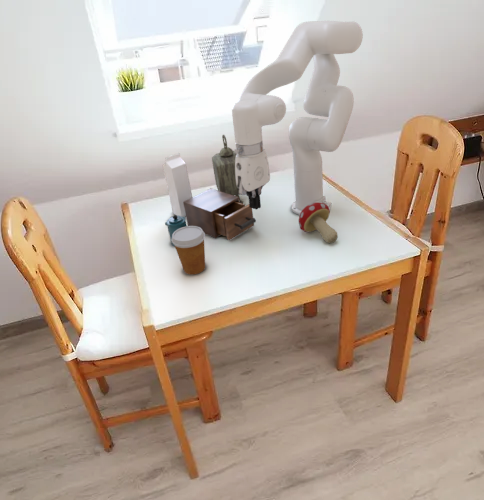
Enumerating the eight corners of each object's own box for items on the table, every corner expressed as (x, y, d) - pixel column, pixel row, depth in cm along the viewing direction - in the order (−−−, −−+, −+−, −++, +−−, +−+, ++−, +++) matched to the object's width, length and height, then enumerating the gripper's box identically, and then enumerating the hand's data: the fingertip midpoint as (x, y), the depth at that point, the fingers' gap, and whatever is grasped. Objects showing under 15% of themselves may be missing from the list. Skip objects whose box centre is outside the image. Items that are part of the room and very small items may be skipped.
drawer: (262, 228, 144) (260, 207, 140) (238, 244, 137) (235, 222, 133) (227, 216, 154) (224, 195, 150) (202, 229, 147) (199, 208, 143)
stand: (242, 222, 151) (239, 197, 146) (215, 238, 143) (211, 212, 138) (214, 212, 159) (210, 188, 154) (188, 226, 152) (183, 201, 147)
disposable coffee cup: (197, 281, 124) (189, 244, 117) (171, 273, 128) (163, 237, 122) (217, 263, 130) (211, 228, 124) (192, 257, 135) (185, 222, 129)
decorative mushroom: (344, 221, 127) (314, 189, 135) (314, 246, 128) (286, 213, 136) (353, 235, 136) (325, 205, 144) (325, 258, 137) (298, 227, 145)
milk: (195, 212, 162) (184, 154, 150) (181, 218, 158) (170, 159, 147) (185, 207, 166) (174, 151, 154) (172, 213, 162) (160, 156, 151)
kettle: (197, 242, 142) (192, 215, 137) (183, 250, 139) (177, 223, 134) (176, 233, 149) (170, 207, 144) (162, 240, 145) (155, 214, 140)
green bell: (247, 205, 162) (239, 139, 148) (223, 210, 160) (213, 143, 147) (239, 190, 174) (231, 128, 161) (217, 195, 172) (207, 132, 159)
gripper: (240, 158, 116) (246, 220, 125) (277, 142, 124) (280, 201, 134) (220, 153, 120) (228, 213, 130) (257, 138, 129) (262, 196, 138)
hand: (255, 207), depth 132 cm, fingers closed
